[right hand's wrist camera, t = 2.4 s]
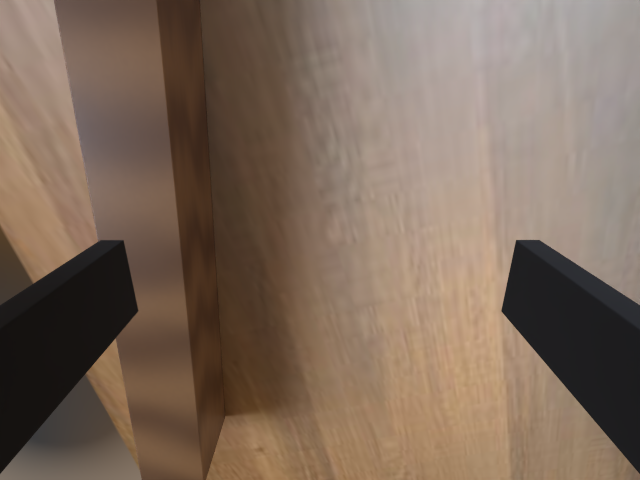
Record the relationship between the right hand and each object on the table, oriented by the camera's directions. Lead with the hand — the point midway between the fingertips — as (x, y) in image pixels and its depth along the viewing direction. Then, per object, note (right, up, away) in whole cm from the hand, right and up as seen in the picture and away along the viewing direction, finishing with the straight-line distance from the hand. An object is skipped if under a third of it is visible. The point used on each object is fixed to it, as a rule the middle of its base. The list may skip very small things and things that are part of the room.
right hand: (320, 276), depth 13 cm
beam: (-12, +11, +17) cm, 23 cm away
